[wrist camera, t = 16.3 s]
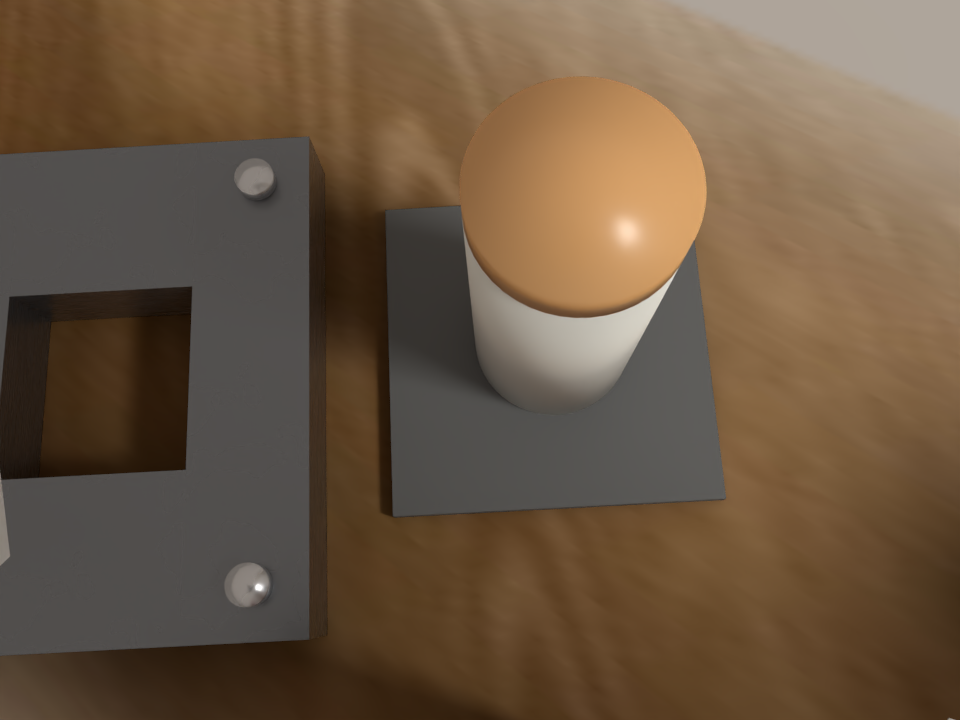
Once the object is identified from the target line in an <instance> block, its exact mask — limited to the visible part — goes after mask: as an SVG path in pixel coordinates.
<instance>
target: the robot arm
mask: <svg viewBox="0 0 960 720" xmlns="http://www.w3.org/2000/svg"><path fill="white" fill-rule="evenodd" d="M9 557H10V551H9V542H8V534H7V525H6V517H5V508H4V500H3V491H2V483H1V474H0V566H1V565H2V564H3V563H4V562H5V561H6V560H7V559H8V558H9ZM947 720H954V719H951V718H948V719H947Z"/></svg>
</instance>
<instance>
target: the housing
mask: <svg viewBox="0 0 960 720" xmlns="http://www.w3.org/2000/svg"><path fill="white" fill-rule="evenodd" d="M179 314H191V338H190V365H189V393H188V421H187V448H186V470H175V471H156V472H138V473H119V474H101V475H82V476H64V477H45V478H39V465H40V453H41V440H42V427H43V415H44V402H45V390H46V377H47V364H48V352H49V339H50V327H51V322H54V321H72V320H89V319H107V318H125V317H143V316H161V315H179ZM0 474H1V483H2V491H3V500H4V508H5V517H6V525H7V534H8V542H9V551H10V557H9V558H8V559H7V560H6V561H5V562H4V563H3V564H2V565H1V566H0V656H4V655H23V654H42V653H61V652H80V651H99V650H118V649H137V648H157V647H176V646H195V645H214V644H233V643H252V642H271V641H291V640H309V639H314V638H318V637H322V636H326V635H327V510H326V327H325V173H324V171H323V169H322V166H321V164H320V161H319V159H318V157H317V154H316V152H315V150H314V147H313V145H312V142H311V140H310V138H309V137H294V138H276V139H259V140H242V141H225V142H207V143H190V144H173V145H155V146H138V147H121V148H104V149H86V150H69V151H52V152H34V153H17V154H0Z"/></svg>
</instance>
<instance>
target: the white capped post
mask: <svg viewBox="0 0 960 720" xmlns="http://www.w3.org/2000/svg"><path fill="white" fill-rule="evenodd" d="M706 191H707V189H706V178H705V172H704V167H703V163H702V159H701V157H700V154H699V152H698V149H697V147H696V145H695V143H694V141H693V139H692V137H691V136H690V134H689V132H688V131H687V130H686V128H685V127H684V126H683V124H682V123H681V122H680V120H679V119H678V118H677V117H676V116H675V115H674V114H673V113H672V112H671V111H670V110H669V109H667V108H666V107H665V106H664V105H663V104H661V103H660V102H659V101H658V100H656V99H654V98H653V97H651V96H649V95H648V94H646V93H645V92H643V91H640V90H638V89H636V88H634V87H632V86H629V85H626V84H623V83H620V82H617V81H613V80H609V79H604V78H597V77H585V76H583V77H565V78H558V79H552V80H549V81H545V82H541V83H538V84H535V85H533V86H530V87H528V88H525V89H523V90H522V91H520V92H518V93H516V94H514V95H512V96H511V97H509V98H508V99H507V100H505V101H504V102H502V103H501V104H500V105H499V106H497V107H496V108H495V109H494V110H493V111H492V112H491V113H490V114H489V115H488V116H487V117H486V119H485V120H484V121H483V122H482V123H481V125H480V126H479V127H478V129H477V131H476V132H475V134H474V135H473V137H472V139H471V141H470V143H469V145H468V148H467V150H466V152H465V156H464V159H463V163H462V166H461V174H460V203H461V213H462V222H463V232H464V241H465V251H466V260H467V270H468V279H469V289H470V298H471V308H472V317H473V327H474V336H475V346H476V352H477V357H478V361H479V364H480V367H481V369H482V371H483V373H484V375H485V377H486V378H487V380H488V382H489V383H490V384H491V386H492V387H493V388H494V389H495V390H496V391H497V392H498V393H499V394H500V395H501V396H502V397H503V398H505V399H506V400H507V401H509V402H510V403H512V404H514V405H516V406H517V407H519V408H522V409H524V410H527V411H530V412H534V413H538V414H545V415H562V414H568V413H573V412H576V411H580V410H582V409H584V408H587V407H589V406H591V405H592V404H594V403H596V402H597V401H599V400H600V399H601V398H602V397H604V396H605V395H606V394H607V393H608V392H609V391H610V390H611V389H612V388H613V386H614V385H615V383H616V382H617V381H618V379H619V377H620V375H621V374H622V372H623V370H624V368H625V366H626V364H627V363H628V361H629V359H630V357H631V355H632V353H633V352H634V350H635V348H636V346H637V344H638V342H639V341H640V339H641V337H642V335H643V333H644V331H645V329H646V328H647V326H648V324H649V322H650V320H651V318H652V317H653V315H654V313H655V311H656V309H657V307H658V306H659V304H660V302H661V300H662V298H663V296H664V295H665V293H666V291H667V289H668V287H669V285H670V283H671V282H672V280H673V278H674V276H675V274H676V272H677V271H678V269H679V267H680V265H681V263H682V261H683V260H684V258H685V256H686V254H687V252H688V250H689V249H690V247H691V245H692V243H693V241H694V239H695V237H696V235H697V233H698V231H699V228H700V225H701V223H702V220H703V215H704V210H705V206H706Z"/></svg>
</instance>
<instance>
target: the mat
mask: <svg viewBox="0 0 960 720" xmlns="http://www.w3.org/2000/svg"><path fill="white" fill-rule="evenodd" d="M385 216H386V256H387V296H388V336H389V377H390V417H391V457H392V497H393V517H414V516H432V515H451V514H470V513H488V512H507V511H526V510H544V509H563V508H582V507H600V506H619V505H638V504H656V503H675V502H694V501H712V500H724V499H726V494H725V486H724V478H723V470H722V461H721V453H720V445H719V437H718V429H717V421H716V413H715V404H714V396H713V388H712V380H711V372H710V364H709V356H708V347H707V339H706V331H705V323H704V315H703V307H702V298H701V290H700V282H699V274H698V266H697V258H696V250H695V241H693V243H692V245H691V247H690V249H689V250H688V252H687V254H686V256H685V258H684V260H683V261H682V263H681V265H680V267H679V269H678V271H677V272H676V274H675V276H674V278H673V280H672V282H671V283H670V285H669V287H668V289H667V291H666V293H665V295H664V296H663V298H662V300H661V302H660V304H659V306H658V307H657V309H656V311H655V313H654V315H653V317H652V318H651V320H650V322H649V324H648V326H647V328H646V329H645V331H644V333H643V335H642V337H641V339H640V341H639V342H638V344H637V346H636V348H635V350H634V352H633V353H632V355H631V357H630V359H629V361H628V363H627V364H626V366H625V368H624V370H623V372H622V374H621V375H620V377H619V379H618V381H617V382H616V383H615V385H614V386H613V388H612V389H611V390H610V391H609V392H608V393H607V394H606V395H605V396H604V397H602V398H601V399H600V400H599V401H597V402H596V403H594V404H592V405H591V406H589V407H587V408H584V409H582V410H580V411H576V412H573V413H568V414H562V415H545V414H538V413H534V412H530V411H527V410H524V409H522V408H519V407H517V406H516V405H514V404H512V403H510V402H509V401H507V400H506V399H505V398H503V397H502V396H501V395H500V394H499V393H498V392H497V391H496V390H495V389H494V388H493V387H492V386H491V384H490V383H489V382H488V380H487V378H486V377H485V375H484V373H483V371H482V369H481V367H480V364H479V361H478V357H477V352H476V346H475V336H474V327H473V317H472V308H471V298H470V289H469V279H468V270H467V260H466V251H465V241H464V232H463V222H462V213H461V206H449V207H432V208H414V209H397V210H385Z"/></svg>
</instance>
